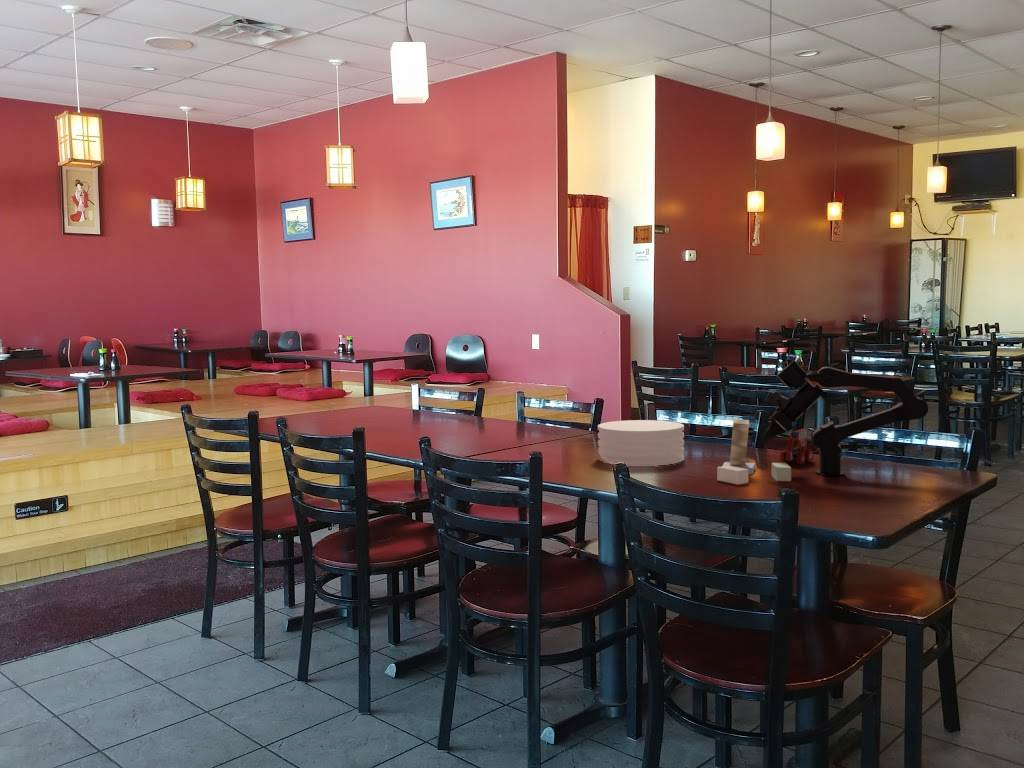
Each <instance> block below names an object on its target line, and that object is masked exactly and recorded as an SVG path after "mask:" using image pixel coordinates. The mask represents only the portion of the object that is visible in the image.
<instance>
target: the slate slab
mask: <svg viewBox="0 0 1024 768" xmlns="http://www.w3.org/2000/svg"><path fill="white" fill-rule="evenodd" d="M722 466H733V467H738V468H744V469H748V475H753V474H754V472H755V469H756V463H755V462H746V463H745V466H739V465H730V461H724V463H723V464H722Z"/></svg>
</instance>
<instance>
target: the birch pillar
mask: <svg viewBox="0 0 1024 768" xmlns="http://www.w3.org/2000/svg"><path fill="white" fill-rule="evenodd" d="M732 422H733V423H732V431H731V433H732V435H731V444H730V445H731V446H730V459H729V462H730V465H739V466H745V463H747V462H746V460H747V451H748V449H747V448H748V438H749V427H750V420H749V419H748V420H747V419H740V418H739V419H736V418H734V419H733V421H732Z"/></svg>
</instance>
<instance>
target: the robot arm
mask: <svg viewBox="0 0 1024 768" xmlns="http://www.w3.org/2000/svg"><path fill="white" fill-rule="evenodd" d="M776 378H778V379H779V380H780V381H781V382H782V383H783V384H784V385H785V386H786V387H788V388H789V390H792V389H795V390H797V389H798V390H797V391H796V392H795V393H793V395H790V396H789V397H786V396H785V395H783V394H781V392H778V391H773V390H768V394H767V395H766V397H765V399H764V401H765V402H766V403H768V404H772V405H774V406H776V409H775V410H774V411H773V414H772V416H771V418H770V419H771V422H770V424H769V425H768V426H767V428H766V429H765V431H764V432H763V435H762V437H761V440H762V441H764V442H765V441H767V440H770V439H773V438H775V437H778V436H780V435H783V434H785V433H787V432H790V430H792V428H793V427H794V424H795V423H796V422H797V420H799V418H800V417H801V416H803V414H805V413H806V412H807V411H808V410H809V408H811V406H813V405H814V404H815V403H816V402H817V401H818V400H819V399H820V398H822V400H824V401H826V402H827V401H828V399H829V398H828V394H829V390H824V389H823V388H826V389H827V388H829V389H830V388H843V387H857V388H866V389H876V390H885V391H892V392H893V393H894V394H895V395H896V397H897V398H898V399H899V400H900V402H898V403H897V404H895V405H894V406H892V407H890V408H888V409H884V410H883V411H880V412H876V413H873V414H869V415H867V416H864V417H861V418H858V419H855V420H851V421H849V422H847V423H843V424H834V421H833V420H831V421H829V422H827V423H824V424H819V425H818V426H819V427H817V428H815V430H814V431H813V433H812V443H813V444H814V446H815V447H816V448H817V449H819V467H818V468H819V469H818V470H814V473H815V474H818V475H820V474H821V475H820V476H823V475H824V477H829V476H828V475H837V476H844V475H843V474H845V475H846V473H845V472H843V471H841V462H842V461H841V456H842V455H841V452H842V448H841V444H840V443H841V442H842V441H844V440H846V439H848V438H850V437H852V436H857V435H859V434H863V433H865V432H869V431H871V430H875V429H878V428H881V427H883V426H887V425H890V424H893V423H895V422H905V421H906V422H908V421H915V420H921V419H923V418H924V417H926V416H927V414H928V413H929V404H928V403H927V402H926V400H924V399H922V398H921V397H919V396H916V395H915V394H914V393H913V392H912V391H911V389H910V388H909V387H908V386H907V385H906V384H905V382H904V381H903V379H902V378H901V377H898V376H886V375H885V376H884V375H874V374H873V375H872V374H866V373H864V374H863V373H856V372H849V371H846V370H842V369H839V368H838V369H837V368H835V367H831V366H823V367H821V368H820V369H818V371H817V370H816V371H809V372H806V371H805V370H804V369H803V368H802V367H801V366H800V365H799V364H798V363H797V362H796V361H795V360H792V361H791V362H790V363H789V364H788V365H787V366H785V367H784V368H783V369H782V370H781V371H780V372H779V373H778V374H777V375H776ZM811 382H813V383H818V384H819V385H820V386H819V385H818V384H815V385H813V384H812V383H811ZM804 383H805V384H804ZM803 384H804V385H803ZM800 387H801V388H800ZM821 387H822V388H821Z"/></svg>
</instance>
